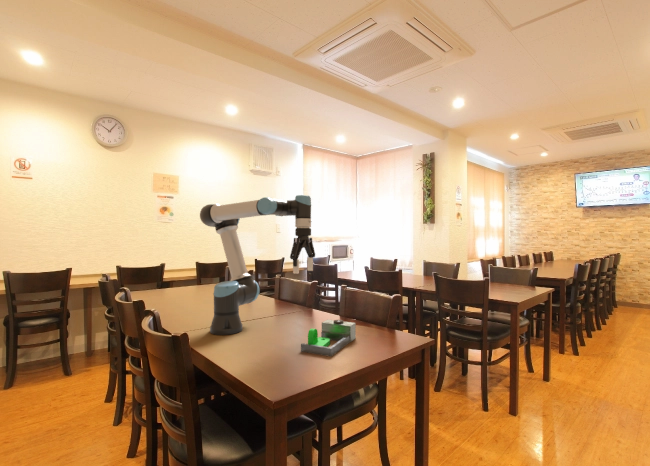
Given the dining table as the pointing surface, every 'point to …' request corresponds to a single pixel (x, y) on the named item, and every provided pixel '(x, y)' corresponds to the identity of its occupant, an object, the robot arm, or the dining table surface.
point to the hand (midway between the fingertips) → (303, 272)
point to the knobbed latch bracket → (333, 337)
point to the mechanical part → (317, 339)
